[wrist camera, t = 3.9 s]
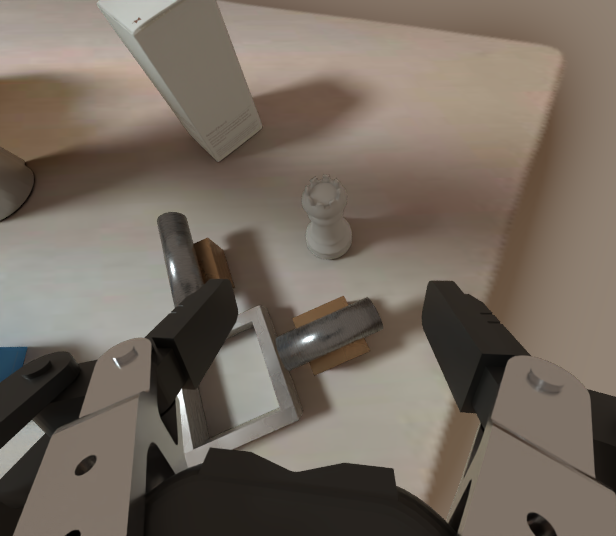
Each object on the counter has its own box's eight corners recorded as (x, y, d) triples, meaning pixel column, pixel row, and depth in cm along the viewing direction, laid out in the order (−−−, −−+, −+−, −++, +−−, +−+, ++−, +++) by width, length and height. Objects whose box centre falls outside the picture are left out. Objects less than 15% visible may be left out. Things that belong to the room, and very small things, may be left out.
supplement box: (265, 128, 29) (211, -23, 17) (218, 164, 28) (128, 33, 16) (232, 100, 31) (165, -48, 20) (188, 133, 31) (90, -1, 19)
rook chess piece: (317, 268, 22) (305, 230, 15) (300, 230, 24) (281, 178, 16) (360, 250, 23) (369, 202, 15) (340, 213, 24) (339, 153, 16)
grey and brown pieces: (160, 257, 25) (115, 235, 20) (305, 193, 25) (295, 155, 20) (201, 457, 19) (148, 498, 14) (394, 371, 19) (413, 381, 14)
